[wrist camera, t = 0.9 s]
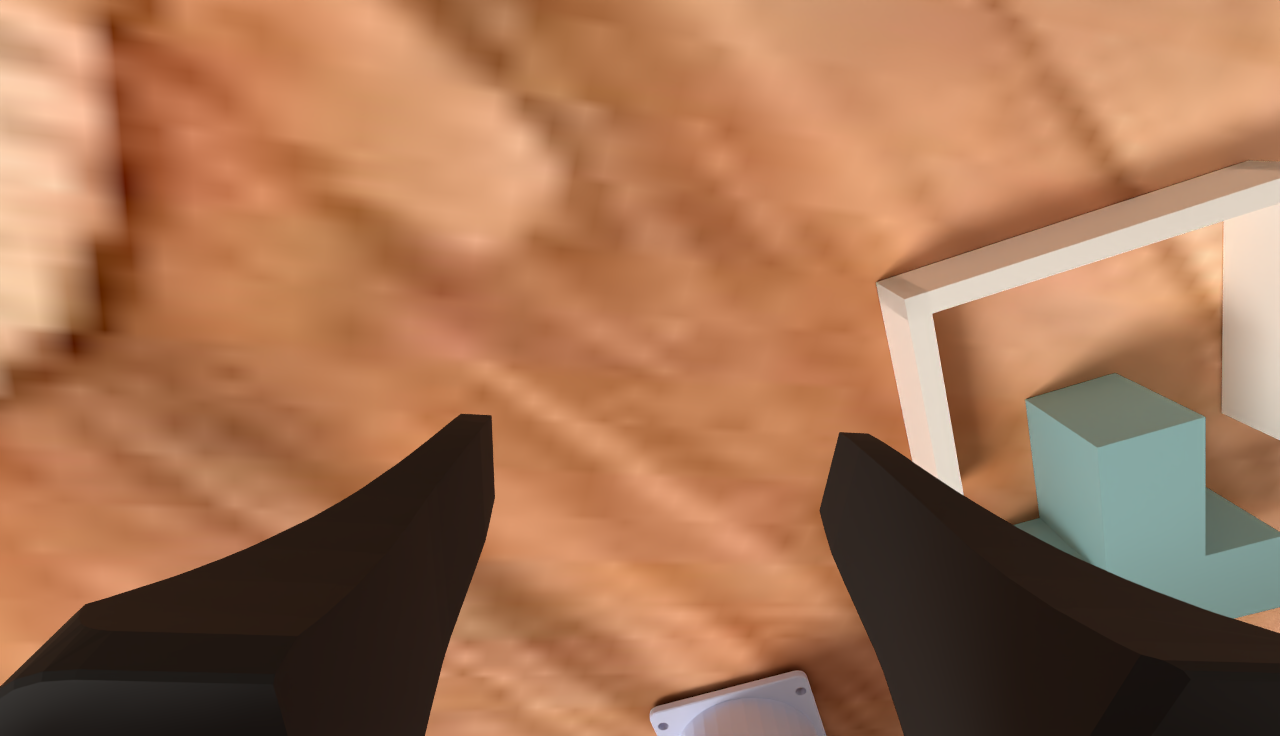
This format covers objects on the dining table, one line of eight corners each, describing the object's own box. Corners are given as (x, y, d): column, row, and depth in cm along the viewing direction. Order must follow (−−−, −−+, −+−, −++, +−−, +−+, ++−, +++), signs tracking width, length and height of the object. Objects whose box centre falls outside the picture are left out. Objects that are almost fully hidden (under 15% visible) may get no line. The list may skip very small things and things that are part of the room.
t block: (1189, 540, 27) (1280, 606, 23) (986, 594, 28) (1041, 666, 24) (1187, 351, 23) (1293, 392, 20) (956, 419, 24) (1015, 470, 21)
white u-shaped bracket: (1242, 407, 24) (1307, 436, 22) (920, 498, 26) (948, 535, 23) (1248, 160, 21) (1326, 163, 18) (875, 282, 22) (904, 299, 20)
